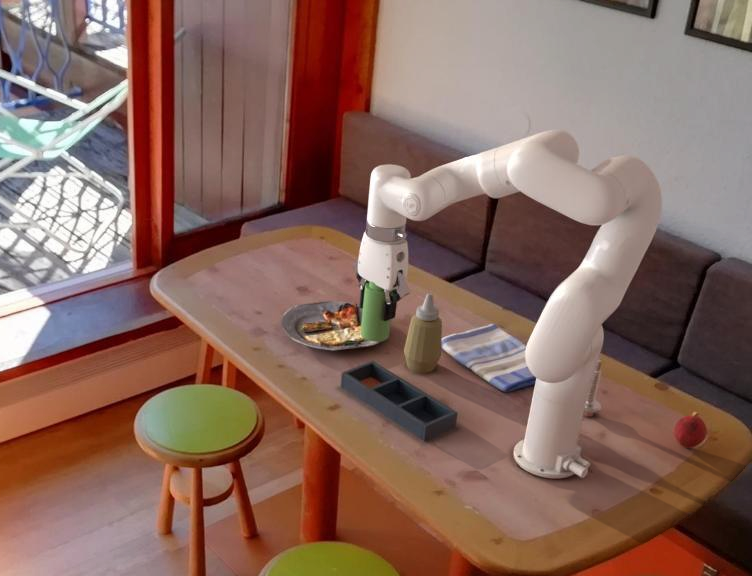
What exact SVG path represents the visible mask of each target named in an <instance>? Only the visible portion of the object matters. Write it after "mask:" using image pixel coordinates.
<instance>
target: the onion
mask: <svg viewBox="0 0 752 576" xmlns="http://www.w3.org/2000/svg"><path fill="white" fill-rule="evenodd" d="M699 416H700V414H699V412H697V411H693V413H691V415H686V416H684V417H681V418H680V419H679V420H678V421H677V422H676V424H675V426H674V427H673V434H674V438H675V440H676V441H677V443H678V444H679V445H680V446H682V447H683V448H686V449H688V448H694V447H697V446H699V445H701V444H702V443H703V442H704V441H705V439H706V437H707V426H706V424H705V422H704V420H703V419H702V418H701V417H699Z"/></svg>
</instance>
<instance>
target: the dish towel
mask: <svg viewBox="0 0 752 576" xmlns="http://www.w3.org/2000/svg"><path fill="white" fill-rule="evenodd" d="M526 346H527V345H525V343H524V342H522V341H521V340H520V339H518V338H516V337H515V336H513V335H511V334H509V333H507V332H506V331H505V330H503V329H501V328H500V327H499V326H498V324H496V323H490V324H488V325H484V326H480V327H476V328H472V329H468V330H466V331H461V332H458V333H452V334H448V335H446V336H444V337H442V342H441V350H443V351H444V352H445V353H447V354H448V355H449V356H451V357H452V358H454V360H456V362H458V363H460V364H461V365H463V366H464V367H466V368H467V369H469V370H470V371H471V372H473V373H474V374H475V375H477V376H478V377H480V378H481V379H483V380H484V381H486V382H488V383H489V384H490V385H492V386H493V387H495V388H496V389H498V390H500V391H501V392H504V393H508V392H512V391H515V390H518V389H523V388H526V387H530V386H533V385H534V386H535V383H536V377H535V376H534V375H533V374H532V373H531V372H530V370H529V368H528V366H527V364H526V359H525V350H526Z"/></svg>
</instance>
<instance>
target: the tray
mask: <svg viewBox="0 0 752 576" xmlns="http://www.w3.org/2000/svg"><path fill="white" fill-rule="evenodd" d="M340 376H341V377H340V389H343V390H344V391H346V392H347V393H349V394H350V395H352V396H354V397H355V398H356V399H358V400H359V401H361V402H363V403H364V404H366V405H367V406H369V407H371V409H373V410H375V411H376V412H378V413H379V414H381V415H382V416H384V417H386V418H388V419H389V420H390V421H392V422H394V423H395V424H397V425H398V426H399V427H400V428H403V429H404V430H406V431H407V432H409V434H411V435H413V436H415V437H416V438H418V439H419V440H421V441H423V442H427V441H429V440H431V439H433V438H435V437H437V436H440V435H442V434H444V433H446V432H448V431H451V430H453V429H455V428H456V426H457V419H458V413H459V412H457V410H455V409H453V408H451V407H450V406H448V405H447V404H445V403H444V402H442V401H440V400H438V399H437V398H435V397H433V396H432V395H430V394H428V393H426V392H425V391H423V390H421V389H420V388H418V387H417V386H415V385H413V384H411V383H410V382H408V381H407V380H405V379H404V378H402V377H400V376H398V375H397V374H396V373H394V372H392V371H390V370H389V369H387V368H385V367H384V366H383V365H381V364H379V363H378V362H376V361H374V360H370V361H368V362H366V363H363V364H360V365H358V366H356V367H352V368H350V369H347V370H345V371H341V375H340Z"/></svg>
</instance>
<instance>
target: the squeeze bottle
mask: <svg viewBox="0 0 752 576" xmlns="http://www.w3.org/2000/svg"><path fill="white" fill-rule="evenodd" d="M434 301H435V300H434V294H433V292H427V293H426V295H425V298H424V301H423V304H421V305H419V306H417V308H416V313H415V314H414V315H413V316H412V317H411V318H410V323H409V327H408V332H407V336H406V339H405V344H404V348H403V353H404V357H405V362H406V366H407V368H408V369H409V370H410V371H412V372H415V373H419V374H420V373H421V374H427V373H430V372H431V373H432V371H434V370H435V368H436V366H437V364H438V363H439V361H440V359H441V356H442V348H441V342H442V338H443V335H442V333H443V330H442V329H443V321H442V319H441V317H439V313H440V310H439V308H438V307H437V306H435V303H434Z"/></svg>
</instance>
